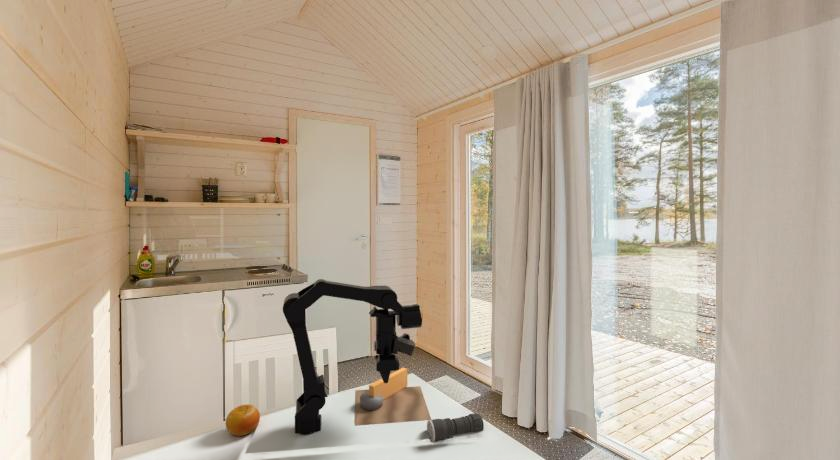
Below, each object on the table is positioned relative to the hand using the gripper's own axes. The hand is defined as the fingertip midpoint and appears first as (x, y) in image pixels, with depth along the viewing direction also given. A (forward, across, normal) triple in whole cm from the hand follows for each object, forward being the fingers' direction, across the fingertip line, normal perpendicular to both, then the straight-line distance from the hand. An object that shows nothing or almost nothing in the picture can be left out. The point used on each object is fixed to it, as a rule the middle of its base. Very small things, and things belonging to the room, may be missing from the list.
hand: (385, 382), depth 118 cm
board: (+12, +8, -2) cm, 15 cm away
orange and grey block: (+10, +13, -1) cm, 16 cm away
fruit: (+12, +1, +40) cm, 42 cm away
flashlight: (+12, -10, -18) cm, 24 cm away
